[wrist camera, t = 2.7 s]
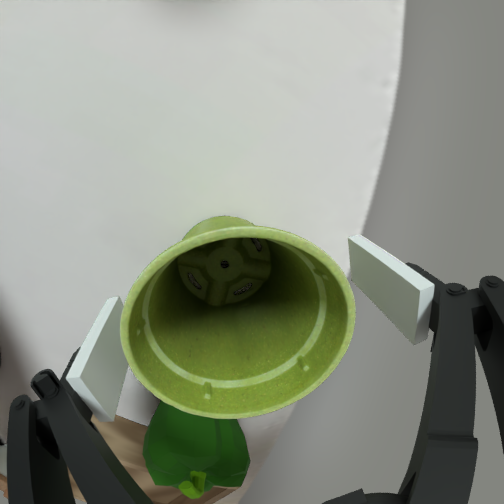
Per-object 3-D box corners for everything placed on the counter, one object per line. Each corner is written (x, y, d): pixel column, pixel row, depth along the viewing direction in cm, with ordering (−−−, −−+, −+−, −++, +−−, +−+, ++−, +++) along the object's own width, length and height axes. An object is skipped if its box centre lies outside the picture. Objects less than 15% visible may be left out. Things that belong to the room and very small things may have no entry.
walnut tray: (46, 456, 24) (38, 482, 20) (54, 385, 20) (38, 423, 16) (170, 499, 31) (171, 524, 26) (234, 449, 26) (241, 486, 22)
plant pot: (318, 275, 20) (381, 350, 12) (209, 344, 21) (217, 440, 13) (247, 159, 17) (287, 169, 9) (123, 247, 17) (72, 323, 9)
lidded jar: (53, 479, 27) (44, 520, 19) (3, 456, 25) (-9, 493, 16) (39, 453, 24) (26, 502, 16) (-16, 425, 22) (-34, 467, 13)
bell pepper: (234, 431, 25) (249, 516, 16) (152, 427, 23) (147, 513, 14) (247, 376, 22) (272, 480, 13) (146, 369, 21) (132, 477, 12)
